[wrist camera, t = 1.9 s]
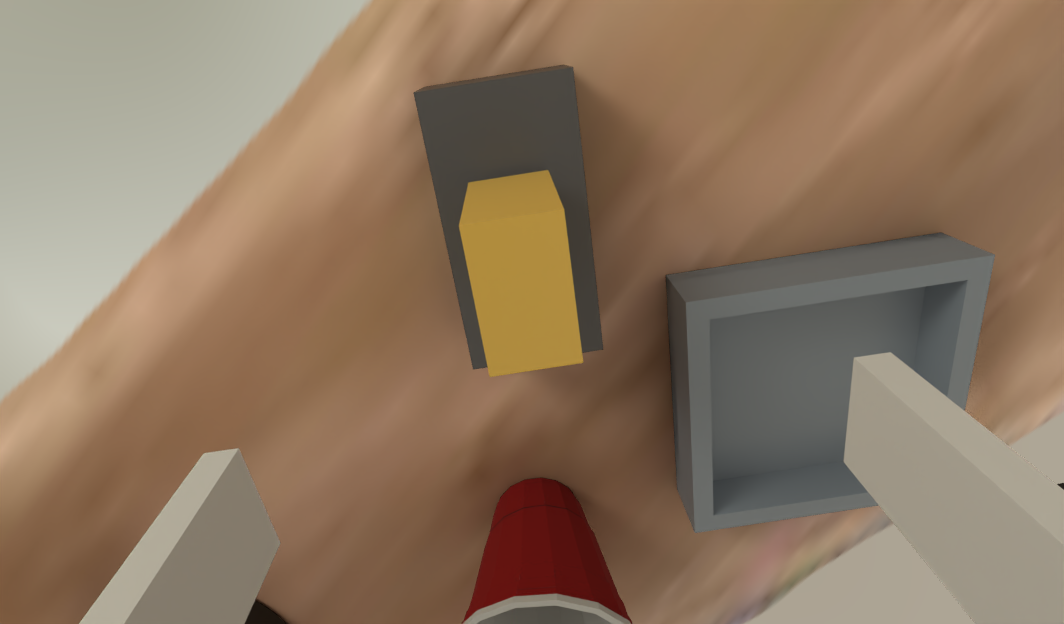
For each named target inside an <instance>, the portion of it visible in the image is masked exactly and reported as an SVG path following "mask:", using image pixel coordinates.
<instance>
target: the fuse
mask: <svg viewBox="0 0 1064 624" xmlns="http://www.w3.org/2000/svg"><path fill="white" fill-rule="evenodd" d="M459 229H460V234H461V238H462V243H463V248H464V253H465V258H466V263H467V268H468V273H469V278H470V283H471V288H472V293H473V297H474V302H475V307H476V312H477V317H478V322H479V327H480V332H481V337H482V342H483V347H484V352H485V357H486V361H487V366H488V371H489V376H490V377H493V376H500V375H506V374H513V373H519V372H526V371H532V370H539V369H546V368H552V367H559V366H565V365H572V364H578V363H583V356H582V348H581V340H580V332H579V324H578V316H577V308H576V300H575V292H574V284H573V276H572V268H571V260H570V252H569V244H568V236H567V228H566V220H565V212H564V208H563V205H562V203H561V200H560V198H559V195H558V193H557V190H556V188H555V185H554V183H553V181H552V178H551V176H550V173H549V171H548V170H544V171H538V172H532V173H525V174H519V175H513V176H506V177H500V178H493V179H487V180H481V181H474V182H469V183H468V187H467V191H466V196H465V200H464V205H463V209H462V214H461V218H460V223H459Z"/></svg>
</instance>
